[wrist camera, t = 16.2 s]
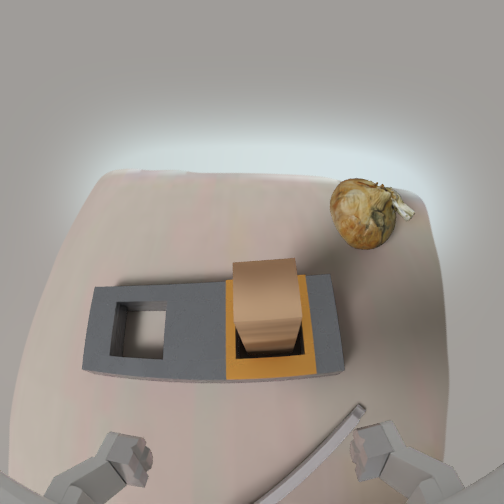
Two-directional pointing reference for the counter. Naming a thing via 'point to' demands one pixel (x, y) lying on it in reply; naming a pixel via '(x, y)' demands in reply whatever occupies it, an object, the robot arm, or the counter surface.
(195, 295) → the rail
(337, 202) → the onion
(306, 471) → the caliper
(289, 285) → the peg
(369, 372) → the counter surface
